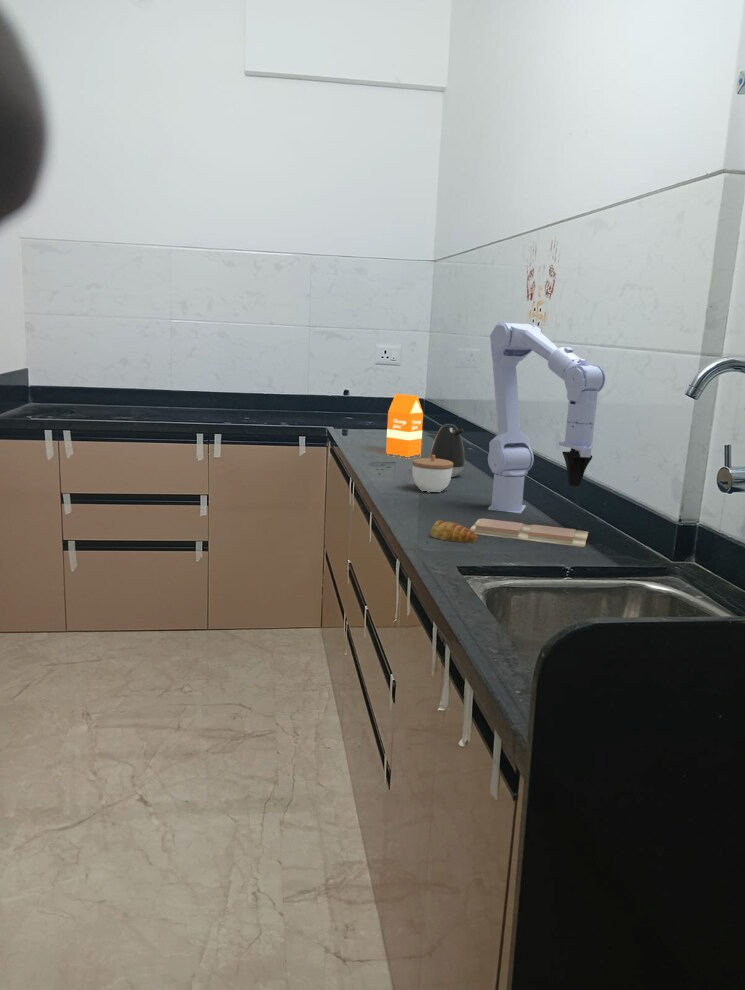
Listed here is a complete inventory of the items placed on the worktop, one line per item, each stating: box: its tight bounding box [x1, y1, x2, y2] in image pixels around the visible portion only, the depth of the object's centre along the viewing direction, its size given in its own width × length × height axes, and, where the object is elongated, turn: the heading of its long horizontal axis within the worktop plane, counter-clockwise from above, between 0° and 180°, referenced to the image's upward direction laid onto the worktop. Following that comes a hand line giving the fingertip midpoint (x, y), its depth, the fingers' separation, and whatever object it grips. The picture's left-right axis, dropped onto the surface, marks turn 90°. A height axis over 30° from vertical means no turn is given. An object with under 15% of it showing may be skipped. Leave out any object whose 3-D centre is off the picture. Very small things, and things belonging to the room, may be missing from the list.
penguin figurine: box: [429, 423, 466, 478], centre depth 239 cm, size 10×10×15 cm
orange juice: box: [385, 393, 424, 457], centre depth 272 cm, size 8×9×20 cm
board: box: [469, 518, 589, 548], centre depth 177 cm, size 14×24×1 cm, turn 72°
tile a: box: [475, 518, 524, 537], centre depth 177 cm, size 1×9×7 cm
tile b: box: [528, 523, 576, 544], centre depth 173 cm, size 1×9×7 cm
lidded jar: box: [411, 455, 453, 493], centre depth 218 cm, size 11×11×9 cm
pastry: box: [429, 519, 479, 544], centre depth 169 cm, size 9×7×4 cm
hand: (574, 485), depth 179 cm, fingers closed
